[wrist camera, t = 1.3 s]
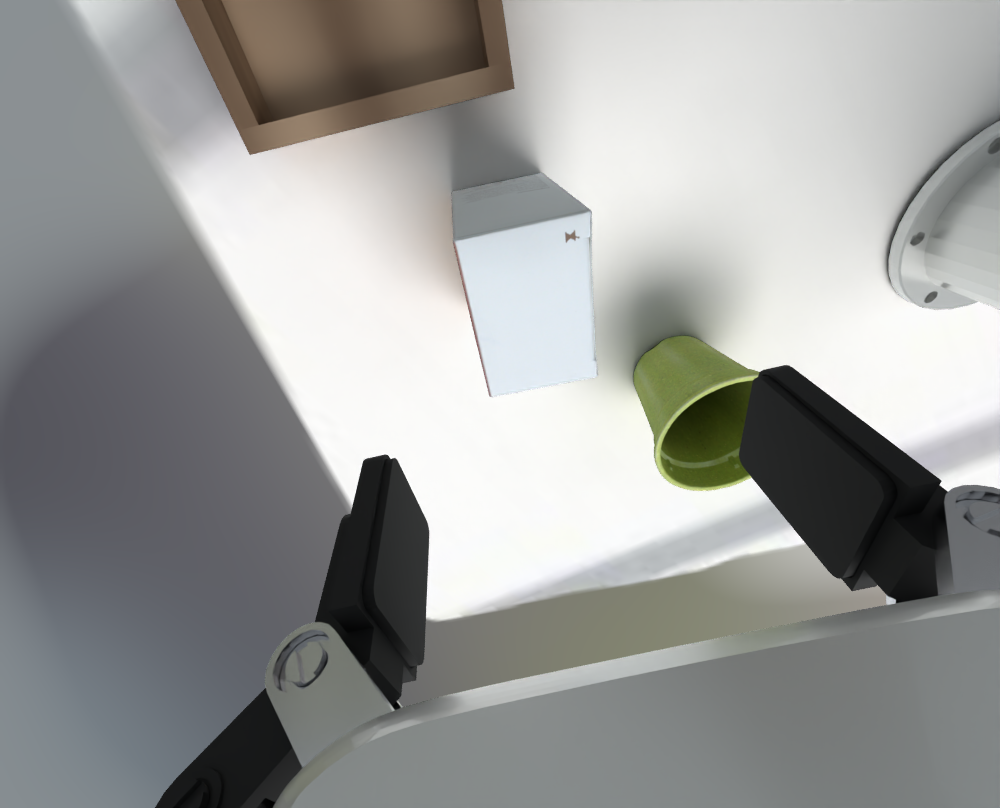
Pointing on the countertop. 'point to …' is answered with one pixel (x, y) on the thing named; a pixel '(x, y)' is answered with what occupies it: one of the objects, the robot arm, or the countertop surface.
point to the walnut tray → (345, 61)
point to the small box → (527, 282)
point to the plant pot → (695, 412)
